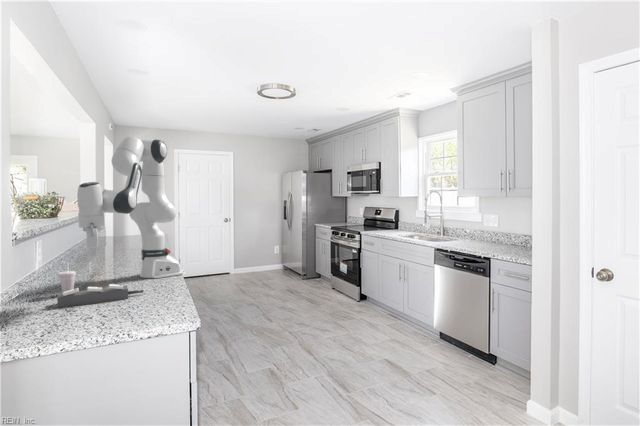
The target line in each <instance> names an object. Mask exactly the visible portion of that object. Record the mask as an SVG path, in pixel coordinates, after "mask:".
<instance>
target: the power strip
mask: <svg viewBox="0 0 640 426" xmlns="http://www.w3.org/2000/svg"><path fill="white" fill-rule="evenodd" d="M140 293H141V294H143V293H144V289H138V290H129V289H128V285H123V289H114V288H109V287H102V291H87V289H86V290H85V289H84V290H79V292H76V293H73V294H69V295H66V296H63V293H62V292H59V293H58V295H57V297H56V298H57V299H56V300H57V308H58V309H59V308H67V307H75V306H83V305H89V304H96V303H103V302H104V303H105V302H111V301H120V300H126V299H129V295H133V294H140Z"/></svg>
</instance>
